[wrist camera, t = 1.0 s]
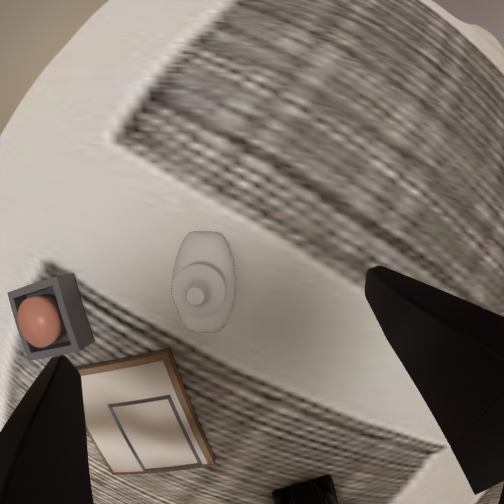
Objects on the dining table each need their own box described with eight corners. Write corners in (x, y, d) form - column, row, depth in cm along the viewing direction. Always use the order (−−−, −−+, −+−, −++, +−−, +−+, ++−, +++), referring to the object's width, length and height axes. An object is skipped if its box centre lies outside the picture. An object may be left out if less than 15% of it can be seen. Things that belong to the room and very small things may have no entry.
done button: (72, 337, 21) (61, 343, 19) (39, 344, 20) (27, 350, 18) (57, 289, 21) (45, 292, 19) (25, 299, 20) (12, 303, 18)
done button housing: (94, 340, 23) (79, 351, 20) (45, 350, 22) (28, 360, 19) (73, 273, 22) (56, 275, 19) (26, 288, 22) (7, 292, 19)
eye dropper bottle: (169, 289, 23) (117, 327, 11) (204, 226, 23) (182, 204, 11) (217, 317, 24) (210, 380, 12) (253, 255, 24) (280, 261, 12)
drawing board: (215, 457, 24) (214, 466, 22) (115, 468, 23) (111, 476, 21) (169, 347, 23) (166, 353, 22) (64, 368, 22) (56, 374, 21)
